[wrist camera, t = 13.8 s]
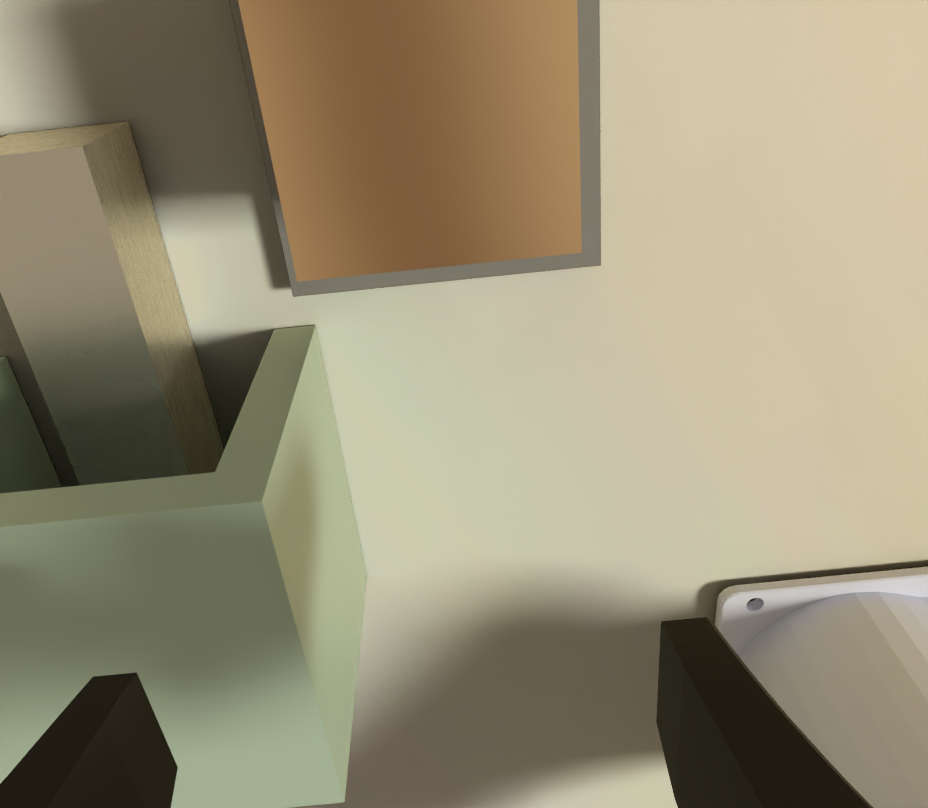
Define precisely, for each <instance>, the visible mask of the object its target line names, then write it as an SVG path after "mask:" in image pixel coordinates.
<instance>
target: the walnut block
mask: <svg viewBox="0 0 928 808" xmlns="http://www.w3.org/2000/svg"><path fill="white" fill-rule="evenodd" d="M238 2H239V7H240V12H241V17H242V21H243V26H244V31H245V36H246V40H247V45H248V50H249V55H250V59H251V64H252V69H253V74H254V78H255V83H256V88H257V93H258V97H259V102H260V107H261V112H262V117H263V121H264V126H265V131H266V136H267V140H268V145H269V150H270V155H271V159H272V164H273V169H274V174H275V178H276V183H277V188H278V193H279V197H280V202H281V207H282V212H283V216H284V221H285V226H286V231H287V235H288V240H289V245H290V250H291V255H292V259H293V264H294V269H295V274H296V278H297V282H300V281H310V280H319V279H329V278H339V277H349V276H359V275H368V274H378V273H388V272H398V271H408V270H417V269H427V268H437V267H447V266H457V265H467V264H476V263H486V262H496V261H506V260H516V259H525V258H535V257H545V256H555V255H565V254H574V253H582V238H581V182H580V126H579V70H578V15H577V0H238Z"/></svg>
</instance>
